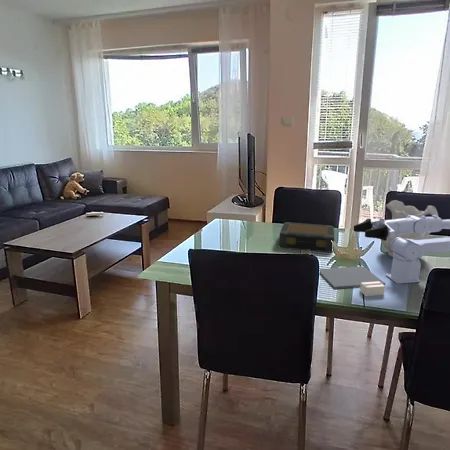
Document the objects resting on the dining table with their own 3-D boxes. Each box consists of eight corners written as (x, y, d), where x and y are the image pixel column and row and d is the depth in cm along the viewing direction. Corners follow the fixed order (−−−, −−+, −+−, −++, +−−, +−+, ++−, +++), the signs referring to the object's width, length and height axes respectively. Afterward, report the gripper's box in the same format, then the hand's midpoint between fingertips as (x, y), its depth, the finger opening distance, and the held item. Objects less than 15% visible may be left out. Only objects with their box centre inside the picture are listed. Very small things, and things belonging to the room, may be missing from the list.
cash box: (332, 239, 192) (334, 224, 189) (333, 253, 173) (334, 237, 170) (283, 235, 198) (284, 221, 195) (278, 248, 179) (279, 232, 177)
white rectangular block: (377, 290, 137) (379, 281, 136) (383, 295, 134) (385, 285, 132) (359, 291, 136) (360, 282, 135) (365, 296, 132) (366, 287, 131)
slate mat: (363, 268, 156) (363, 266, 156) (384, 285, 141) (385, 283, 140) (317, 271, 153) (317, 269, 153) (334, 288, 138) (334, 286, 137)
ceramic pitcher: (431, 256, 171) (440, 202, 166) (429, 268, 155) (439, 208, 150) (381, 248, 182) (388, 197, 177) (374, 258, 166) (381, 202, 160)
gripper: (382, 212, 144) (349, 216, 142) (407, 221, 131) (371, 225, 128) (381, 230, 146) (349, 234, 144) (405, 240, 132) (370, 245, 130)
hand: (359, 231), depth 136 cm, fingers open, 7 cm apart
